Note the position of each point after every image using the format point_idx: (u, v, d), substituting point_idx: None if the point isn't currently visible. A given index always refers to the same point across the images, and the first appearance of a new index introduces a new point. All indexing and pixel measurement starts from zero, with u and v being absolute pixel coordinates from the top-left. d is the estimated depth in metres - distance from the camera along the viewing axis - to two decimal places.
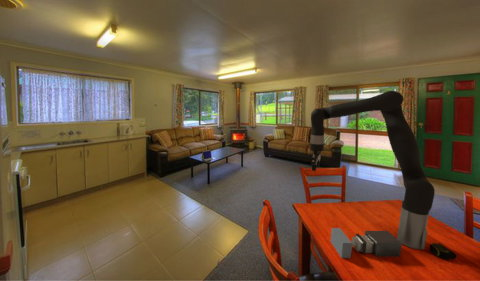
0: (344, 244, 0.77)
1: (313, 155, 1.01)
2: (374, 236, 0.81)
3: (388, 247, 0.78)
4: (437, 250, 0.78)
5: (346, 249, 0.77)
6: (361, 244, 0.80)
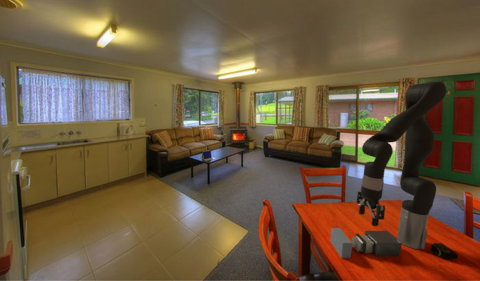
0: (344, 244, 0.77)
1: None
2: (374, 236, 0.81)
3: (388, 247, 0.78)
4: (438, 250, 0.78)
5: (346, 249, 0.77)
6: (361, 244, 0.80)
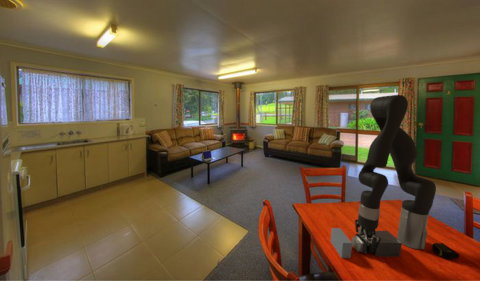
0: (344, 244, 0.77)
1: None
2: None
3: (388, 247, 0.78)
4: (440, 250, 0.78)
5: (346, 249, 0.77)
6: (361, 244, 0.80)
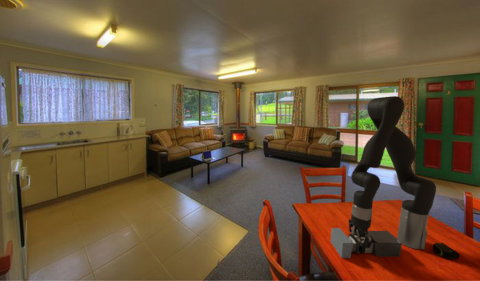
0: (344, 244, 0.77)
1: None
2: (374, 236, 0.81)
3: (388, 247, 0.78)
4: (440, 250, 0.78)
5: (346, 249, 0.77)
6: (354, 244, 0.80)
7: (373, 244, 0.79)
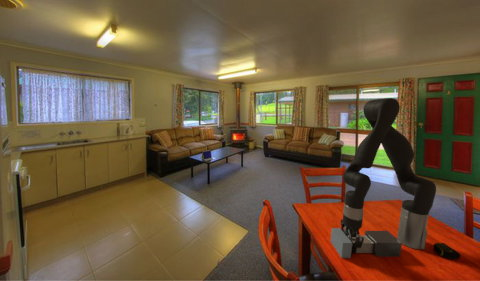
0: (344, 244, 0.77)
1: None
2: (374, 236, 0.81)
3: (388, 247, 0.78)
4: (441, 250, 0.78)
5: (346, 249, 0.77)
6: None
7: (364, 244, 0.79)
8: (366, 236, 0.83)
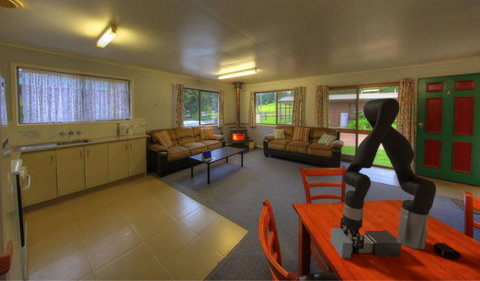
0: (344, 244, 0.77)
1: None
2: (374, 236, 0.81)
3: (388, 247, 0.78)
4: (441, 250, 0.78)
5: (346, 249, 0.77)
6: None
7: (364, 244, 0.79)
8: (366, 236, 0.83)
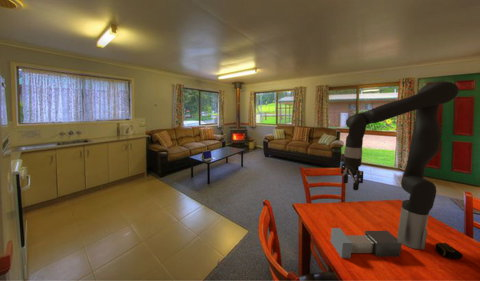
0: (344, 244, 0.77)
1: None
2: (374, 236, 0.81)
3: (388, 247, 0.78)
4: (443, 250, 0.78)
5: (346, 249, 0.77)
6: None
7: (364, 244, 0.79)
8: (366, 236, 0.83)
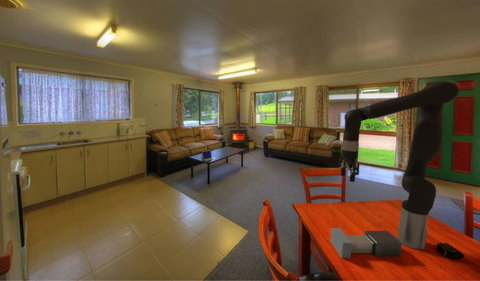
0: (344, 244, 0.77)
1: None
2: (374, 236, 0.81)
3: (388, 247, 0.78)
4: (444, 250, 0.78)
5: (346, 249, 0.77)
6: None
7: (364, 244, 0.79)
8: (366, 236, 0.83)
